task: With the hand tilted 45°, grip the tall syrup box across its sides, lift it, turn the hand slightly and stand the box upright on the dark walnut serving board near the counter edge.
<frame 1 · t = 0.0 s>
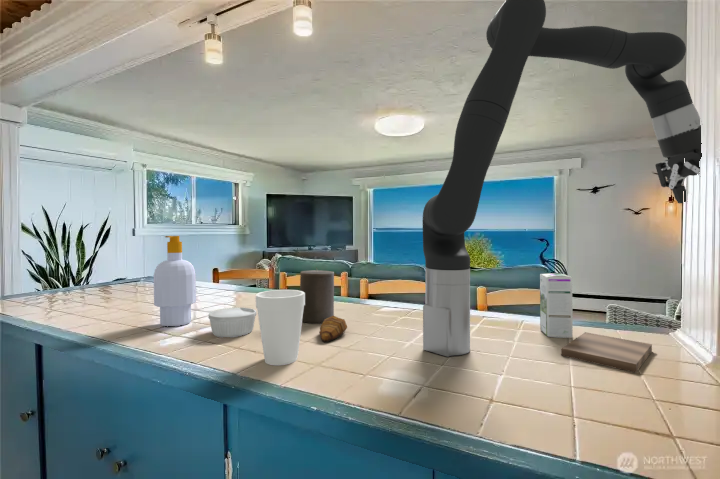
hand: (702, 200, 77), 31 cm above the kitchen counter, tool tilted 20°, fingers open, 8 cm apart
walnut board: (607, 353, 72), on the kitchen counter
foam cup: (281, 360, 70), on the kitchen counter
soap bottle: (176, 324, 97), on the kitchen counter
ramekin: (233, 333, 89), on the kitchen counter
croissant: (333, 336, 86), on the kitchen counter
syrup box: (555, 335, 86), on the kitchen counter
pillar candle: (317, 320, 101), on the kitchen counter
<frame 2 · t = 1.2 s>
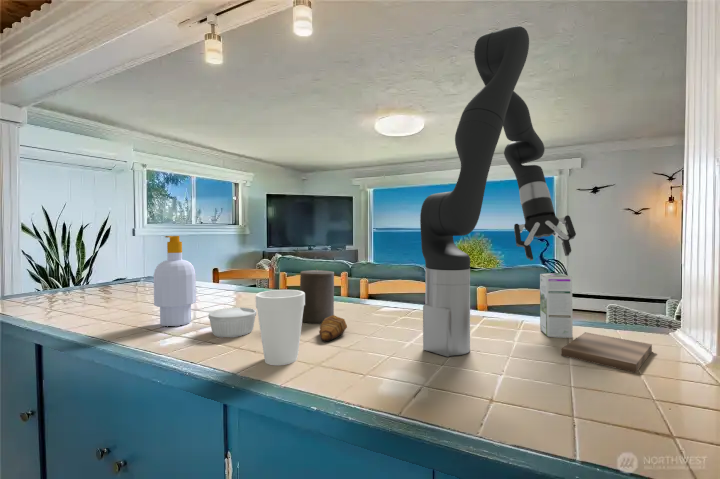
hand: (549, 257, 93), 18 cm above the kitchen counter, tool tilted 20°, fingers open, 8 cm apart
nothing on the kitchen counter moved.
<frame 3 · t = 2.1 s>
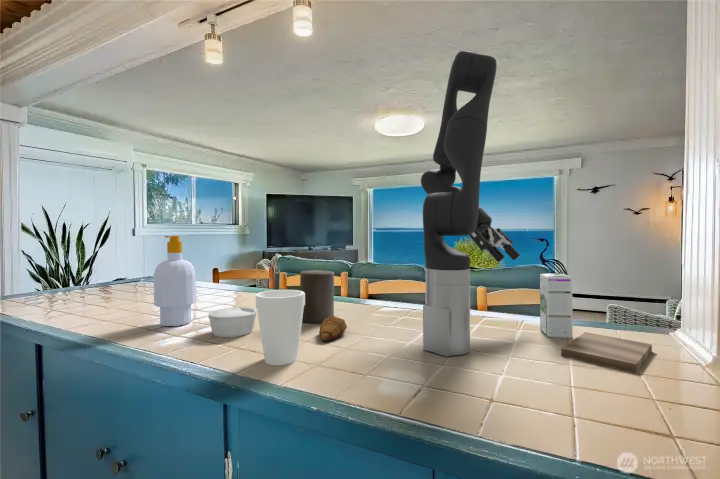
hand: (509, 258, 93), 18 cm above the kitchen counter, tool tilted 45°, fingers open, 8 cm apart
nothing on the kitchen counter moved.
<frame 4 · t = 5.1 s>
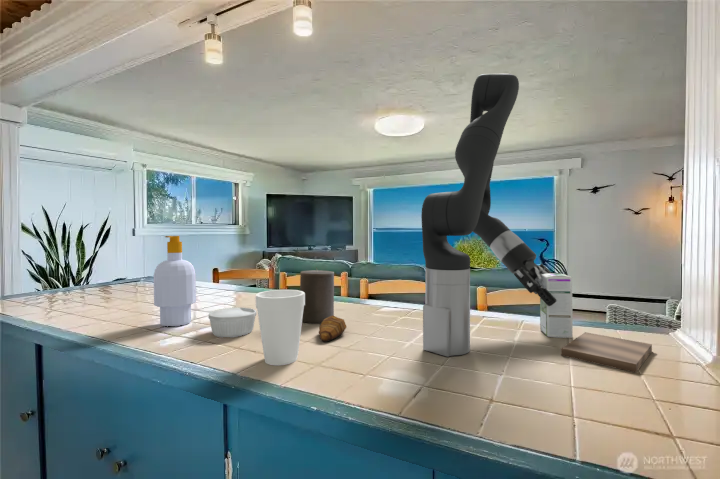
hand: (559, 301, 85), 8 cm above the kitchen counter, tool tilted 45°, fingers open, 8 cm apart
syrup box: (555, 335, 86), on the kitchen counter, touching gripper
everything else where it was.
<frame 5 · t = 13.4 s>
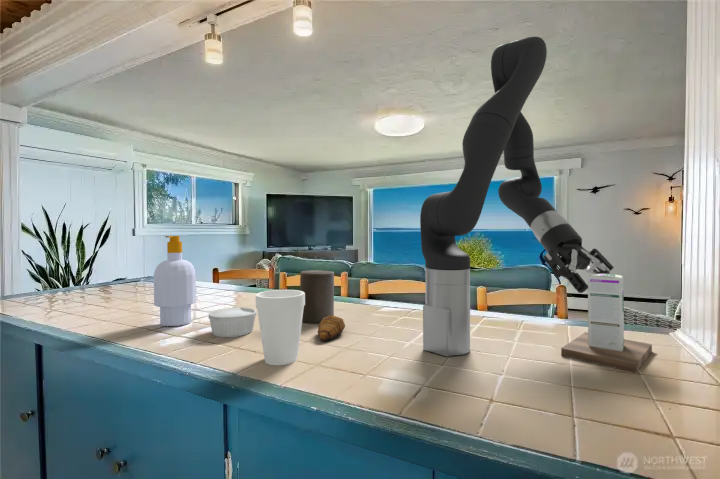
hand: (600, 289, 73), 13 cm above the kitchen counter, tool tilted 45°, fingers open, 8 cm apart
syrup box: (605, 346, 72), point 1 cm above the kitchen counter, touching walnut board
everything else where it was.
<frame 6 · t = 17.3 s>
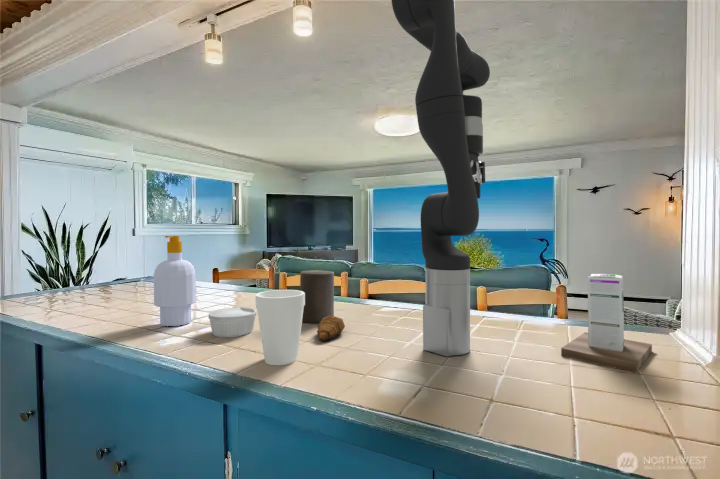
hand: (468, 197, 95), 34 cm above the kitchen counter, tool pointing down, fingers open, 8 cm apart
nothing on the kitchen counter moved.
at the end: syrup box inside the target area on the walnut board (0.4 cm from its centre), point 1.3 cm above the walnut board's base; syrup box tilted 0°; the gripper is holding nothing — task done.
